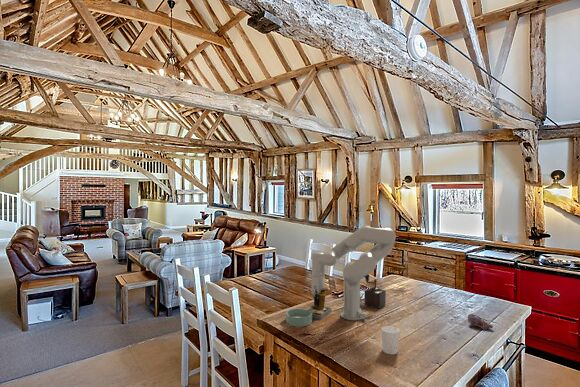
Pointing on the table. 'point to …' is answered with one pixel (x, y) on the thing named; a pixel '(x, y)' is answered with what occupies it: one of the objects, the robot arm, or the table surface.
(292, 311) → the bowl
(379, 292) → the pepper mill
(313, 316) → the tray
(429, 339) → the table surface
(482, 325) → the grey-brown irregular lump
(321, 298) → the condiment
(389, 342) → the white cup
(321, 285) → the robot arm
